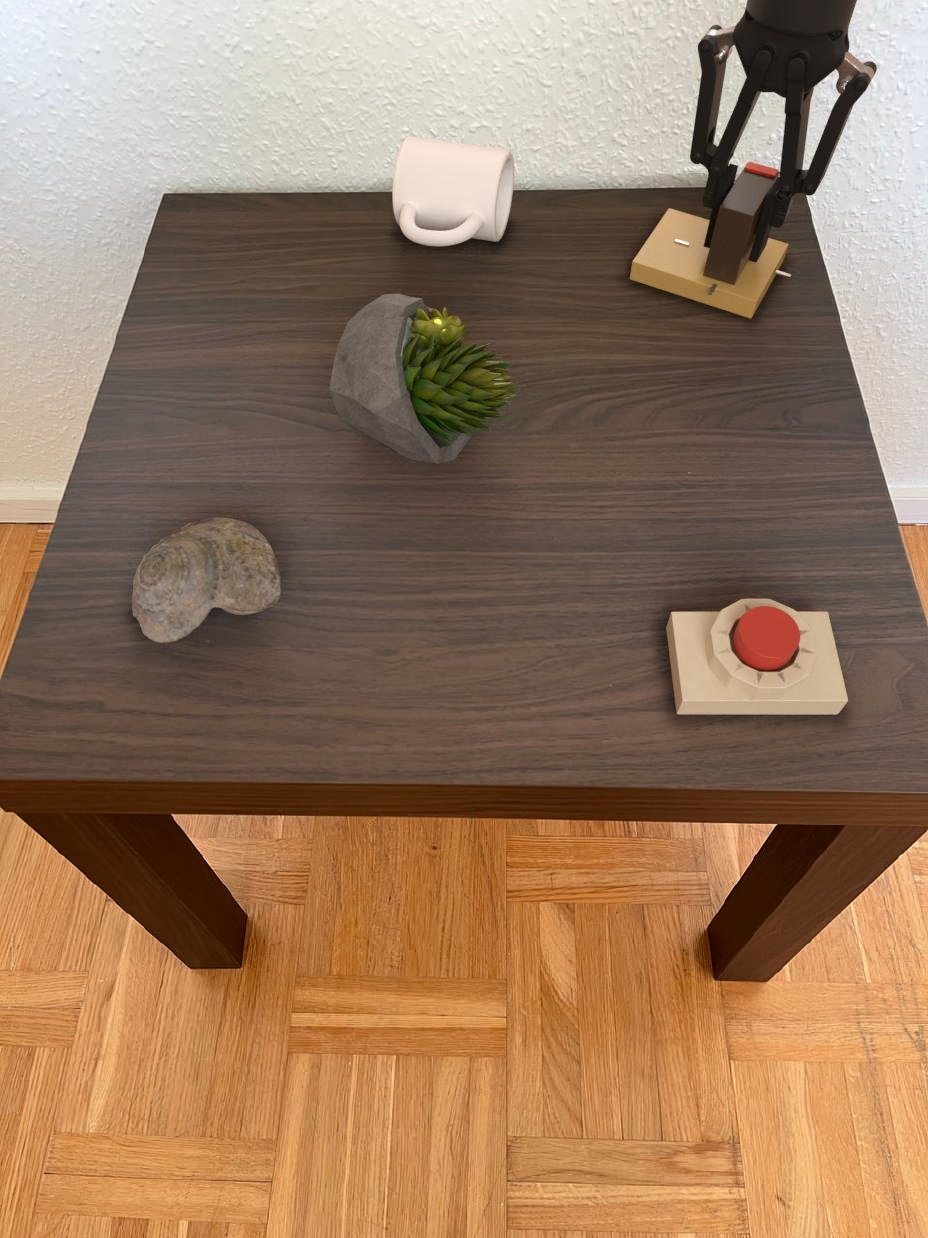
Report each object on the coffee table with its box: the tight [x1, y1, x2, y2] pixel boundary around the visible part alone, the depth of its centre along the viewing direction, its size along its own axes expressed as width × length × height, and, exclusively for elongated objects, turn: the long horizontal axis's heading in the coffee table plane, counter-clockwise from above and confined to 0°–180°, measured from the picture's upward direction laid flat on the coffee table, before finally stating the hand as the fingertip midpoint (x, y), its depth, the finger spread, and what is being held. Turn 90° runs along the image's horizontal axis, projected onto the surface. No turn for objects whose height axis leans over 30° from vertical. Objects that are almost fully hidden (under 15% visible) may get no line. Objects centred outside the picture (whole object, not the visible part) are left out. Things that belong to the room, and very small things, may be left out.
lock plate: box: [629, 207, 792, 320], centre depth 85 cm, size 14×11×2 cm
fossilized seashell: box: [131, 516, 283, 644], centre depth 66 cm, size 11×11×7 cm
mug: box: [391, 135, 515, 247], centre depth 86 cm, size 12×10×8 cm
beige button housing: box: [665, 598, 849, 716], centre depth 63 cm, size 11×7×4 cm, turn 89°
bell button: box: [733, 606, 800, 670], centre depth 60 cm, size 4×4×2 cm
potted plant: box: [328, 293, 522, 464], centre depth 72 cm, size 12×13×15 cm
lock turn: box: [703, 161, 780, 285], centre depth 81 cm, size 7×3×7 cm, turn 152°
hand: (734, 245), depth 83 cm, fingers open, 4 cm apart
